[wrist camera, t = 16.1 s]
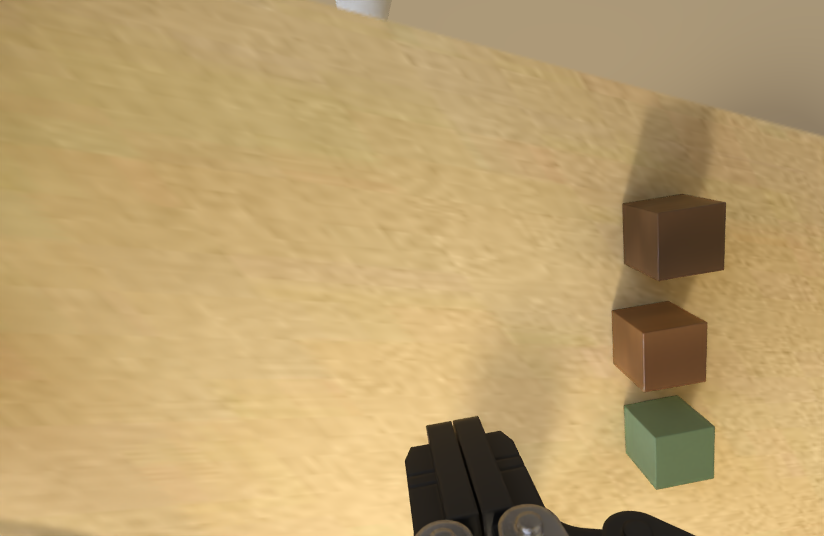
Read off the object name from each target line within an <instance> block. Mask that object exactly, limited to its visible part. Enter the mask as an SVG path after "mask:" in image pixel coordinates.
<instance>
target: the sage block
mask: <svg viewBox="0 0 824 536" xmlns="http://www.w3.org/2000/svg"><path fill="white" fill-rule="evenodd" d="M624 416H625V441H626V453H627V455H628V456H629V457H630V458H631V459H632V461H633V462H634V463H635V464H636V466H637V467H638V468H639V469H640V470H641V472H642V473H643V474H644V475H645V477H646V478H647V479H648V480H649V481H650V483H651V484H652V485H653V486H654V488H655V489H656V490H658V489H663V488H668V487H673V486H678V485H683V484H688V483H693V482H698V481H703V480H708V479H713V478H714V439H715V427H714V426H713V425H712V424H711V423H710V422H709V421H708V420H706V419H705V418H704V417H703V416H702V415H700V414H699V413H698V412H697V411H696V410H694V409H693V408H692V407H691V406H690V405H688V404H687V403H686V402H685V401H684V400H683V399H681V398H680V397H679V396H677V395H676V396H671V397H665V398H660V399H655V400H650V401H644V402H639V403H634V404H629V405H624Z"/></svg>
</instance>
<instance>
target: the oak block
mask: <svg viewBox="0 0 824 536" xmlns="http://www.w3.org/2000/svg"><path fill="white" fill-rule="evenodd" d="M612 331H613V363H614V365H615V366H616V367H618V368H619V369H620V370H621V371H622V372H623V373H624V374H625V375H626V376H627V377H628V378H629V379H630V380H632V381H633V382H634V383H635V384H636V385H637V386H638V387H639V388H640V389H641V390H642V391H643V392H649V391H655V390H661V389H666V388H672V387H678V386H683V385H689V384H695V383H700V382H705V381H706V355H707V322H705V321H704V320H702V319H700V318H698V317H696V316H695V315H693V314H691V313H689V312H687V311H686V310H684V309H682V308H680V307H678V306H677V305H675V304H673V303H671V302H669V301H666V302H660V303H654V304H648V305H642V306H636V307H630V308H624V309H618V310H613V311H612Z"/></svg>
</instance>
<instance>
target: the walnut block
mask: <svg viewBox="0 0 824 536" xmlns="http://www.w3.org/2000/svg"><path fill="white" fill-rule="evenodd" d="M725 220H726V202H721V201H716V200H711V199H705V198H700V197H695V196H690V195H685V194H680V195H673V196H667V197H661V198H655V199H648V200H642V201H636V202H629V203H623V239H624V264H626V265H628V266H630V267H632V268H634V269H636V270H638V271H640V272H642V273H644V274H646V275H648V276H650V277H652V278H654V279H656V280H658V281H661V280H667V279H673V278H679V277H685V276H691V275H697V274H703V273H709V272H715V271H721V270H724V254H725Z"/></svg>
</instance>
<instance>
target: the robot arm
mask: <svg viewBox="0 0 824 536" xmlns="http://www.w3.org/2000/svg"><path fill="white" fill-rule="evenodd" d="M426 430H427V436H428V442H429V444H427V445H421V446H416V447H411V448H410V450H409V453H408V455H407V457H406V459H405V466H406V474H407V482H408V490H409V498H410V506H411V514H412V522H413V530H414V536H695V535H693V534H690V533H688V532H686V531H684V530H682V529H679V528H677V527H675V526H673V525H671V524H668V523H666V522H664V521H662V520H660V519H657V518H655V517H653V516H651V515H648V514H645V513H642V512H637V511H622V512H618V513H615V514H613V515H611V516H610V517H609V518H608V519H607V520H606V521H605V523H604V525H603V528H602V529H589V528H579V527H574V526H570V525H567V524H565V523H563V522H561V521H560V520H559V519H558V517H557V516H556V515H555V514H554V513H553V512H551V511H550V510H548V509H546V508H545V506H544V504H543V502H542V500H541V498H540V496H539V494H538V492H537V490H536V488H535V485H534V483H533V481H532V479H531V477H530V475H529V473H528V471H527V469H526V467H525V466H524V463H523V460H522V458H521V456H520V455H519V452H518V450H517V448H516V446H515V444H514V442H513V440H512V439H510V438H509V437H508V436H506V435H505V434H504V433H503V432H501V431H496V432H491V433H485V431H484V429H483V426H482V424H481V421H480V419H479V417H478V416H475V417H470V418H464V419H459V420H453V425H452V422H451V421H449V422H443V423H438V424H432V425H427V426H426Z"/></svg>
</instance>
